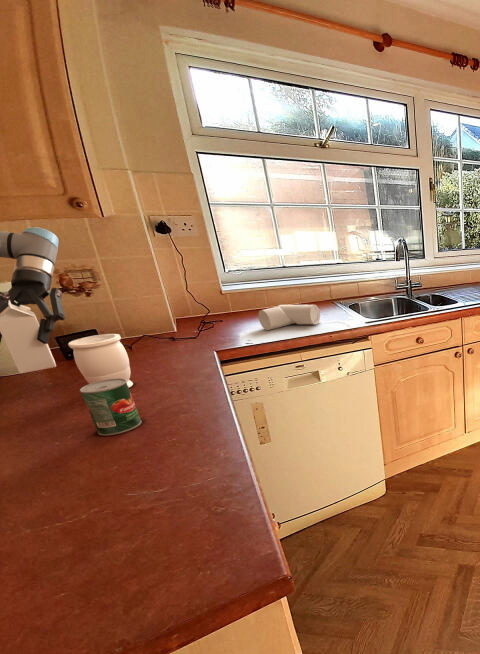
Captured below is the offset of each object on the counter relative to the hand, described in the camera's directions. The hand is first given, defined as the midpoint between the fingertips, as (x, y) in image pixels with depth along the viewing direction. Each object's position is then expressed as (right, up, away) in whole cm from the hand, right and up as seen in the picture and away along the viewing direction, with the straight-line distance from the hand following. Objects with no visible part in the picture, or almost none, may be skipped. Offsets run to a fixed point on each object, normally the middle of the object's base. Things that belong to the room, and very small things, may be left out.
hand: (18, 343), depth 115 cm
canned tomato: (+42, -21, -15) cm, 49 cm away
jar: (+21, -13, +6) cm, 25 cm away
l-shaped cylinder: (+41, +11, +66) cm, 79 cm away
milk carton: (-1, -7, +6) cm, 9 cm away
